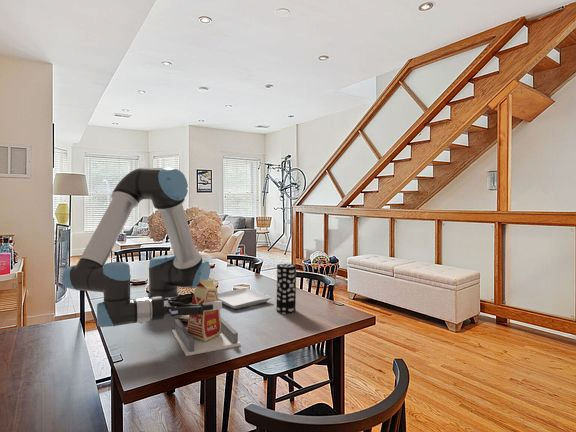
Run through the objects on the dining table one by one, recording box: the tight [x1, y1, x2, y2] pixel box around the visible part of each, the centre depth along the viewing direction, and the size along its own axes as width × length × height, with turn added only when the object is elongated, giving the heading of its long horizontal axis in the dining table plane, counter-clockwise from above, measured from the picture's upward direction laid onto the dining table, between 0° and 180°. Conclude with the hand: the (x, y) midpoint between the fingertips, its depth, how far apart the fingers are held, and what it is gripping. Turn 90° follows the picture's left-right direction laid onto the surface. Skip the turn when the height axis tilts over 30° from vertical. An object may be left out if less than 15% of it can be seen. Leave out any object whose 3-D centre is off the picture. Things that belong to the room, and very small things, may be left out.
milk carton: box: [187, 279, 221, 341], centre depth 128 cm, size 9×9×20 cm
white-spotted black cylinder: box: [276, 263, 297, 315], centre depth 160 cm, size 8×8×20 cm
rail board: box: [171, 315, 242, 357], centre depth 129 cm, size 22×18×4 cm
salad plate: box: [217, 287, 272, 310], centre depth 173 cm, size 21×21×3 cm
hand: (216, 300), depth 130 cm, fingers open, 10 cm apart
